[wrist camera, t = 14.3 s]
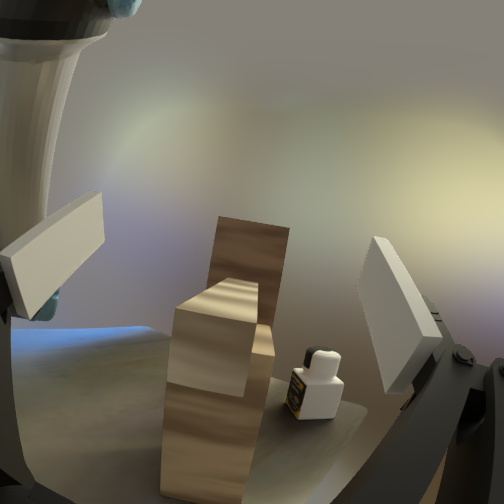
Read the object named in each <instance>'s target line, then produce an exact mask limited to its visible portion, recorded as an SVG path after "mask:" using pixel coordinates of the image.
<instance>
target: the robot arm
mask: <svg viewBox="0 0 504 504" xmlns="http://www.w3.org/2000/svg"><path fill="white" fill-rule="evenodd" d="M141 2H142V0H0V504H75V503H74V502H72V501H71V500H69V499H67V498H65V497H63V496H61V495H59V494H57V493H55V492H53V491H52V490H50V489H48V488H46V487H44V486H43V485H41V484H39V483H38V482H36V481H35V479H34V477H33V475H32V474H31V472H30V470H29V469H28V467H27V465H26V463H25V460H24V456H23V452H22V447H21V442H20V437H19V431H18V425H17V419H16V412H15V404H14V395H13V384H12V370H11V316H12V317H17V318H23V319H28V320H29V321H36V320H38V321H49V320H51V319H52V318H53V317H54V315H55V312H56V308H57V303H58V298H59V291H60V287H61V285H62V284H63V283H64V282H65V281H66V280H67V279H68V278H69V276H71V274H72V273H73V272H74V271H75V270H76V269H77V268H78V267H79V266H80V265H81V264H82V263H83V262H84V261H85V260H86V259H87V258H88V257H89V256H90V255H91V254H92V253H93V252H94V251H96V250H97V248H99V247H100V246H101V245H102V244H103V243H104V242H105V237H104V225H103V212H102V193H101V192H96V191H88V192H87V193H85V194H83V195H82V196H80V197H79V198H77V199H75V200H74V201H72V202H70V203H69V204H67V205H66V206H64V207H63V208H61V209H59V210H58V211H57V212H55V213H54V214H52V215H51V216H49V217H48V218H46V213H47V202H48V192H49V184H50V175H51V169H52V162H53V156H54V150H55V145H56V140H57V135H58V130H59V125H60V120H61V116H62V112H63V108H64V104H65V100H66V97H67V92H68V89H69V86H70V82H71V79H72V76H73V72H74V69H75V66H76V63H77V60H78V57H79V54H80V52H81V50H82V49H83V48H85V47H86V46H88V45H90V44H92V43H93V42H95V41H97V40H99V39H100V38H102V37H104V36H105V35H106V34H107V31H108V29H109V27H110V25H111V22H112V20H113V18H114V17H115V18H120V19H121V18H124V17H131V16H133V15H134V14H135V13H136V11H137V9H138V8H139V6H140V4H141ZM356 287H357V290H358V294H359V297H360V300H361V303H362V307H363V310H364V314H365V317H366V320H367V324H368V327H369V331H370V335H371V338H372V342H373V346H374V349H375V353H376V357H377V361H378V365H379V369H380V373H381V377H382V381H383V385H384V390H385V393H388V394H397V393H398V394H404V393H405V391H406V390H407V389H408V387H409V386H410V385H411V383H412V384H413V387H414V391H415V392H414V393H413V394H412V395H411V397H410V398H409V399H408V400H407V402H406V403H405V404H404V405H403V406H402V408H401V409H400V410H401V413H400V414H399V416H398V417H397V419H396V420H395V422H394V423H393V425H392V426H391V428H390V429H389V431H388V432H387V434H386V435H385V437H384V438H383V439H382V441H381V442H380V444H379V445H378V446H377V448H376V449H375V450H374V452H373V453H372V454H371V456H370V457H369V459H368V460H367V461H366V462H365V463H364V465H363V466H362V467H361V469H360V470H359V471H358V472H357V474H356V475H355V476H354V477H353V478H352V480H351V481H350V482H349V483H348V484H347V485H346V487H345V488H344V489H343V490H342V491H341V492H340V493H339V495H338V496H337V497H336V498H335V499H334V500H333V501H332V502H331V503H330V504H419V502H420V500H421V499H422V497H423V495H424V493H425V492H426V490H427V488H428V486H429V484H430V483H431V481H432V479H433V477H434V475H435V473H436V471H437V469H438V467H439V465H440V462H441V461H442V459H443V457H444V454H445V452H446V450H447V448H448V450H447V455H446V460H445V466H444V470H443V475H442V479H441V483H440V487H439V491H438V495H437V498H436V502H435V504H504V359H502V358H496V359H495V360H494V361H493V363H492V364H491V365H490V366H489V367H486V366H483V365H479V364H476V360H475V357H474V355H473V354H472V353H471V352H470V351H469V350H468V349H467V348H466V347H464V346H462V345H460V344H455V343H454V341H453V339H452V337H451V335H450V333H449V331H448V330H447V328H446V326H445V324H444V322H442V318H441V316H440V315H439V313H438V311H437V309H436V307H435V305H434V304H433V303H432V302H431V301H430V300H429V299H428V298H427V297H426V296H421V295H420V293H419V291H418V289H417V287H416V286H415V284H414V282H413V280H412V279H411V277H410V275H409V273H408V272H407V270H406V268H405V267H404V265H403V263H402V262H401V260H400V258H399V257H398V255H397V253H396V252H395V250H394V248H393V247H392V245H391V244H390V242H389V241H388V239H386V238H380V237H375V236H373V238H372V241H371V244H370V247H369V250H368V253H367V255H366V258H365V261H364V264H363V267H362V270H361V273H360V275H359V278H358V281H357V284H356Z"/></svg>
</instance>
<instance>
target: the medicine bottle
mask: <svg viewBox="0 0 504 504" xmlns="http://www.w3.org/2000/svg"><path fill="white" fill-rule="evenodd" d="M340 358H341V356H340V354H339V353H338V352H337V351H335V350H333V349H331V348H327V347H321V346H315V347H310V348H308V349H307V350H306V354H305V359H304V363H303V368H302V369H301V368H294V369H293V372H292V376H291V381H290V385H289V389H288V393H287V398H286V403H287V404H288V406H289V407H290V409H291V410H292V412H293V413H294V415H295V417H296V418H297V419H298V420H307V419H333V418H334V417H335V414H336V411H337V408H338V404H339V401H340V398H341V394H342V391H343V387H344V383H343V382H342V381H341V380H339V379H338V378H337V377H336V374H337V370H338V366H339V362H340Z"/></svg>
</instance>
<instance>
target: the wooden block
mask: <svg viewBox="0 0 504 504" xmlns="http://www.w3.org/2000/svg"><path fill="white" fill-rule="evenodd" d="M257 305H258V283H257V282H251V281H245V280H240V279H234V278H226V279H225V280H223V281H221V282H219V283H218V284H216V285H214V286H212V287H211V288H209V289H207V290H206V291H204V292H202V293H200V294H199V295H197V296H195V297H193V298H192V299H190V300H188V301H186V302H185V303H183V304H181V305H179V306H178V307H176V308H175V314H174V321H173V329H172V337H171V345H170V354H169V363H168V372H167V382H171V383H175V384H179V385H183V386H188V387H192V388H197V389H201V390H206V391H211V392H216V393H221V394H227V395H232V396H238V397H243V396H244V391H245V385H246V380H247V375H248V369H249V364H250V359H251V353H252V348H253V342H254V337H255V331H256V326H257Z"/></svg>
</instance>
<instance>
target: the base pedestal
mask: <svg viewBox="0 0 504 504" xmlns="http://www.w3.org/2000/svg"><path fill="white" fill-rule="evenodd" d="M274 359H275V353H274V347H273V341H272V336H271V329H270V326H268V325H261V324H257V326H256V331H255V337H254V342H253V348H252V353H251V359H250V364H249V369H248V375H247V380H246V385H245V391H244V396H243V397H238V396H232V395H227V394H221V393H216V392H211V391H206V390H201V389H197V388H192V387H188V386H183V385H179V384H175V383H171V382H167V386H166V397H165V409H164V422H163V437H162V455H161V479H160V495H163V496H167V497H171V498H175V499H179V500H183V501H187V502H192V503H196V504H241V501H242V497H243V493H244V489H245V486H246V482H247V478H248V474H249V470H250V466H251V462H252V458H253V453H254V449H255V445H256V441H257V437H258V432H259V428H260V424H261V419H262V415H263V410H264V406H265V401H266V397H267V392H268V388H269V383H270V378H271V373H272V368H273V364H274Z"/></svg>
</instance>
